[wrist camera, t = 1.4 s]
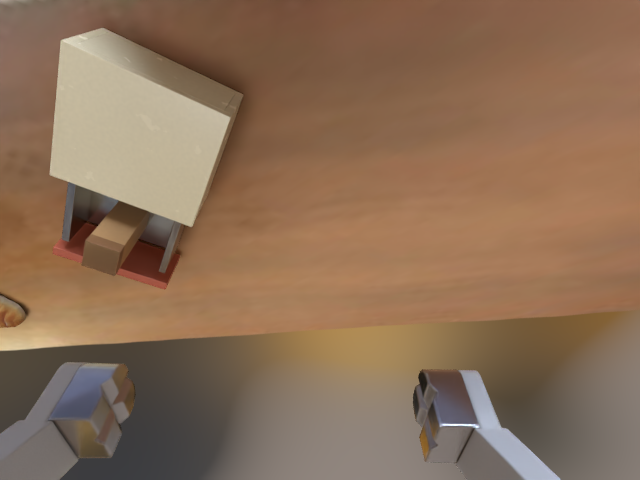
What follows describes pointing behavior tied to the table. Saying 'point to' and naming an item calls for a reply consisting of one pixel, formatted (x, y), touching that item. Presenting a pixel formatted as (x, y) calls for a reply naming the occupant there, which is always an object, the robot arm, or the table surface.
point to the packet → (114, 238)
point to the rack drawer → (143, 258)
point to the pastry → (10, 313)
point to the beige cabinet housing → (138, 125)
